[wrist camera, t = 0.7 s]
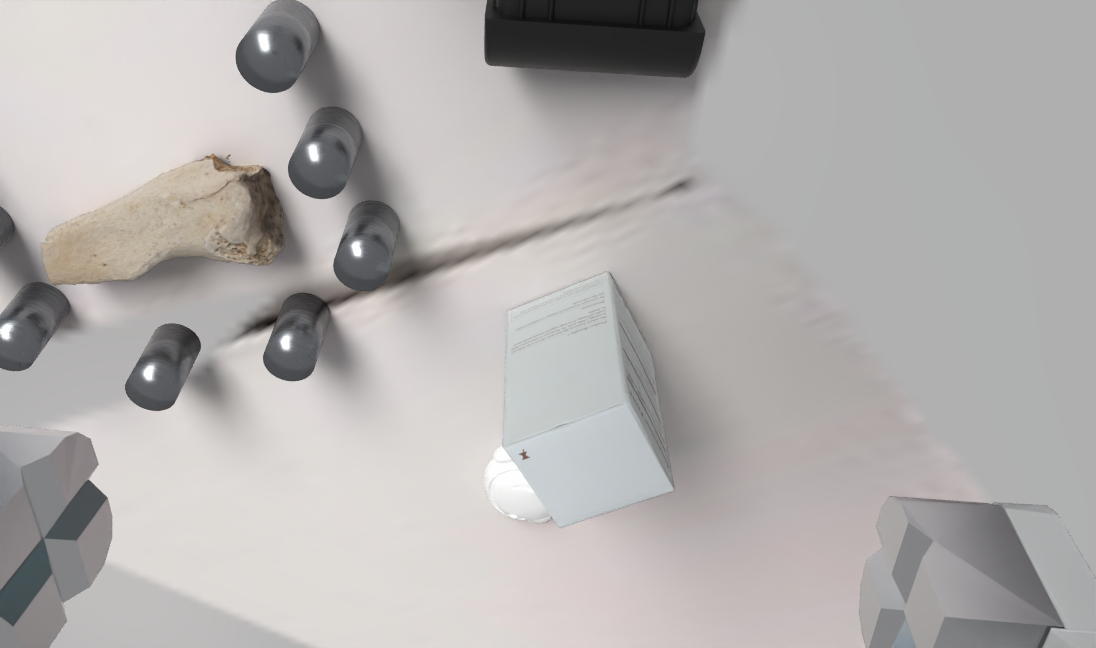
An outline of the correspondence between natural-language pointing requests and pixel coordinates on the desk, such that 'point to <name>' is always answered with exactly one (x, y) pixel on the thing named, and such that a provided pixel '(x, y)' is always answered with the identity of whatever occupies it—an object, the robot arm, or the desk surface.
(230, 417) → the desk surface
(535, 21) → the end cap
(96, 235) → the bone fragment
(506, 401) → the supplement box
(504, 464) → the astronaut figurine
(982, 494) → the desk surface
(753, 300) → the desk surface
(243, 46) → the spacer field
